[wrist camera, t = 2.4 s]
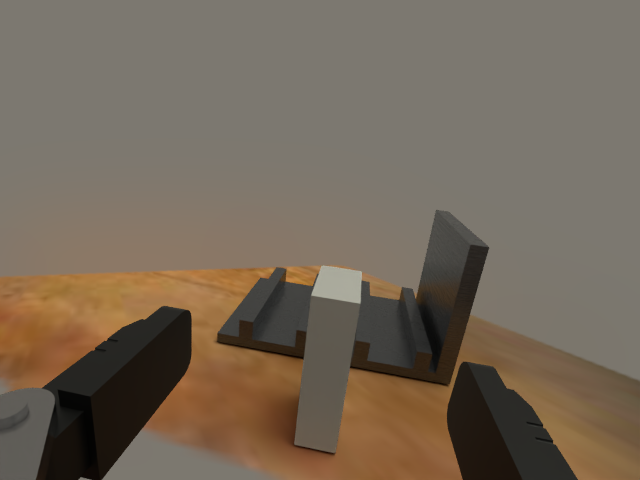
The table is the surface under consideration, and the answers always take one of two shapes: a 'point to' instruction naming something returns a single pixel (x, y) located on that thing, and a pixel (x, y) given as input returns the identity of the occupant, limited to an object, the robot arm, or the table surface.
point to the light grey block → (327, 357)
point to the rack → (379, 312)
